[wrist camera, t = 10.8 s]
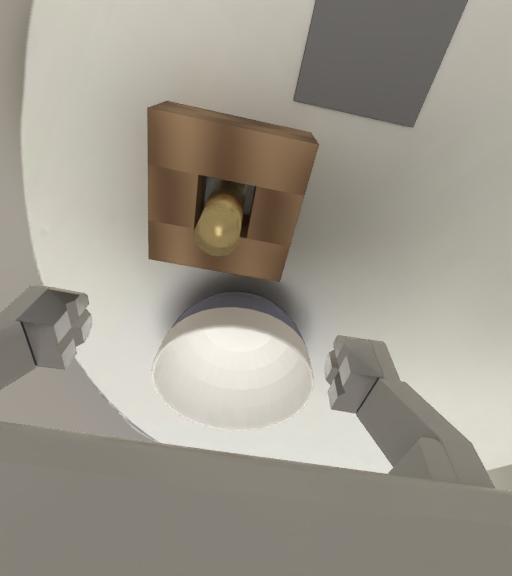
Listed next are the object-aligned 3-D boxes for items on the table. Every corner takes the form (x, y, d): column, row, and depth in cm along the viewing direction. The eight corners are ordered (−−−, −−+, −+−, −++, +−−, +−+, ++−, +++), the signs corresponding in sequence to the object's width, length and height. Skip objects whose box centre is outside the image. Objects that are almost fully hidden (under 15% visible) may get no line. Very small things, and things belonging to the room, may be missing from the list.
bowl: (261, 242, 32) (260, 298, 25) (326, 339, 40) (340, 405, 32) (147, 303, 38) (115, 366, 30) (223, 379, 45) (214, 444, 37)
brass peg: (249, 176, 29) (242, 220, 20) (243, 207, 30) (235, 259, 22) (216, 169, 28) (196, 211, 20) (212, 201, 30) (192, 252, 22)
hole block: (310, 132, 26) (318, 144, 22) (278, 255, 33) (279, 282, 29) (166, 101, 25) (147, 107, 21) (163, 234, 32) (148, 259, 28)
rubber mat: (467, -2, 21) (469, -3, 21) (411, 127, 26) (412, 127, 26) (325, -40, 21) (326, -42, 20) (293, 100, 25) (294, 100, 25)
